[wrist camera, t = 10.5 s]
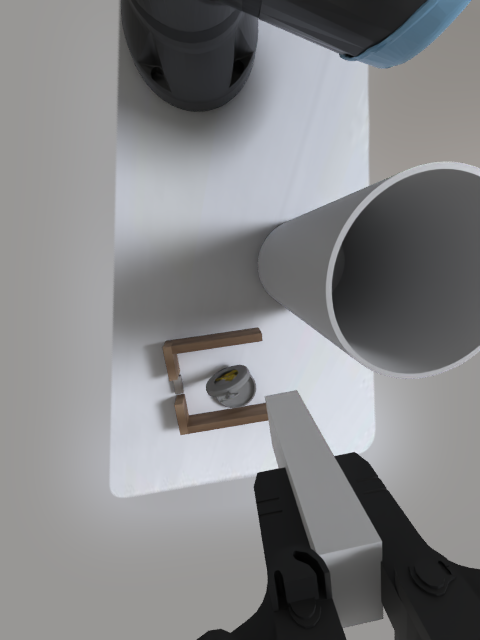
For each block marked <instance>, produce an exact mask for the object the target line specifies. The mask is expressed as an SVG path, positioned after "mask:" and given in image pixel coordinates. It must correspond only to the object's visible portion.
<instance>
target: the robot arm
mask: <svg viewBox="0 0 480 640" xmlns="http://www.w3.org/2000/svg"><path fill="white" fill-rule="evenodd" d="M470 1H471V0H121V14H122V23H123V29H124V34H125V38H126V42H127V45H128V48H129V50H130V53H131V55H132V58H133V60H134V62H135V65H136V67H137V69H138V71H139V73H140V74H141V76H142V78H143V79H144V81H145V82H146V83H147V85H148V86H149V87H150V88H151V89H152V90H153V91H154V92H155V93H156V94H157V95H158V96H159V97H161V98H162V99H163V100H165V101H166V102H168V103H170V104H171V105H173V106H176V107H178V108H181V109H184V110H189V111H207V110H212V109H215V108H217V107H220V106H222V105H224V104H225V103H227V102H228V101H230V100H231V99H232V98H233V97H234V96H235V95H236V94H237V93H238V92H239V91H240V90H241V88H242V87H243V85H244V84H245V82H246V80H247V78H248V76H249V74H250V72H251V69H252V65H253V62H254V57H255V52H256V47H257V40H258V19H260V20H262V21H264V22H267V23H269V24H271V25H274V26H276V27H278V28H281V29H283V30H285V31H288V32H290V33H292V34H295V35H297V36H299V37H302V38H304V39H306V40H309V41H311V42H313V43H316V44H318V45H320V46H323V47H325V48H327V49H330V50H332V51H334V52H336V53H339V55H340V57H341V58H343V59H345V60H348V61H360V62H363V63H366V64H368V65H372V66H374V67H377V68H390V67H392V66H396V65H399V64H402V63H405V62H406V61H408V60H410V59H411V58H413V57H414V56H416V55H417V54H418V53H420V52H421V51H422V50H424V49H425V48H426V47H427V46H428V45H430V44H431V43H432V42H433V41H434V40H435V39H436V38H437V37H438V36H439V35H440V34H441V33H442V32H443V31H444V30H445V29H446V28H447V27H448V26H449V25H450V24H451V23H452V22H453V21H454V20H455V19H456V18H457V16H458V15H459V14H460V13H461V12H462V11H463V10H464V9H465V7H466V6H467V5H468V4H469V3H470ZM265 400H266V407H267V413H268V420H269V426H270V433H271V440H272V446H273V449H274V453H275V456H276V460H277V463H278V467H279V469H274V470H269V471H264V472H259V473H257V477H256V480H255V484H254V491H255V498H256V504H257V510H258V515H259V523H260V529H261V535H262V541H263V548H264V554H265V560H266V566H267V575H268V584H267V591H266V594H265V597H264V600H263V602H262V604H261V606H260V607H259V609H258V610H257V612H256V613H255V614H254V615H253V616H252V617H251V618H250V619H248V620H247V621H246V622H245V623H243V624H242V625H241V626H239V627H238V628H237V629H235V630H234V631H233V632H231V633H229V632H227V631H225V630H222V629H217V630H211V631H208V632H206V633H205V634H204V635H202V636H201V637H200V638H198V639H197V640H346V637H345V634H344V631H343V628H345V627H349V626H354V625H358V624H363V623H367V622H371V621H376V620H380V619H383V607H384V609H385V611H386V613H387V615H388V617H389V619H390V621H391V624H392V626H393V628H394V630H395V640H480V569H474V568H468V567H465V566H461V565H458V564H455V563H453V562H451V561H449V560H447V558H445V557H444V556H442V555H441V554H440V553H438V552H436V551H435V550H433V549H432V548H431V547H429V546H428V545H427V543H426V542H425V541H424V540H423V539H422V538H421V536H420V535H419V534H418V532H417V531H416V529H415V528H414V526H413V525H412V524H411V522H410V521H409V519H408V518H407V516H406V515H405V514H404V512H403V511H402V509H401V508H400V507H399V505H398V504H397V502H396V501H395V500H394V498H393V497H392V495H391V494H390V492H389V491H388V490H387V489H386V487H385V485H384V484H383V483H382V481H381V480H380V479H379V478H378V475H377V474H376V472H375V471H374V470H373V468H372V467H371V465H370V464H369V463H368V462H367V461H366V460H364V459H363V458H362V457H361V456H359V455H358V454H357V453H355V452H353V453H348V454H343V455H338V456H334V455H333V453H332V452H331V450H330V448H329V446H328V445H327V443H326V441H325V439H324V437H323V436H322V434H321V432H320V430H319V429H318V427H317V425H316V423H315V421H314V420H313V418H312V416H311V414H310V413H309V411H308V409H307V407H306V405H305V404H304V402H303V400H302V398H301V397H300V395H299V393H298V391H297V390H295V391H290V392H285V393H280V394H274V395H269V396H265Z"/></svg>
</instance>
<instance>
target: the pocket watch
mask: <svg viewBox="0 0 480 640" xmlns="http://www.w3.org/2000/svg"><path fill="white" fill-rule="evenodd" d="M206 391H207V393H208V394H209V395H210V396H212V397H216V398H217V400H218V401H219V402H220V403H221V404H222V405H224V406H226V407H230V408H239V407H242V406H245V405H246V404H248V403H249V402H250V401H251V400H252V399H253V397H254V395H255V392H256V384H255V381H254V379H253V377H252V376H251V375H250V372H249V370H248V369H247V367H245V366H243V365H236V366H231V367H228V368H225V369H223V370H221V371H219V372H218V373H216V374H215V375H214V376H212V377H211V378H210V379H209V381H208V382H207V384H206Z"/></svg>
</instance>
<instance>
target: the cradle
mask: <svg viewBox="0 0 480 640" xmlns="http://www.w3.org/2000/svg"><path fill="white" fill-rule="evenodd" d="M259 341H262V333H261V331H260V330H259V328H252V329H245V330H238V331H231V332H224V333H218V334H211V335H204V336H197V337H190V338H183V339H176V340H170V341H166V342H165V344H164V346H163V353H164V358H165V362H166V367H167V372H168V377H169V381H173V384H174V389H175V393H176V394H181V393H183V392H184V389H183V383H182V378H181V375H179V373H180V368H179V363H178V358H177V354H178V353H185V352H192V351H198V350H205V349H212V348H219V347H225V346H232V345H239V344H245V343H252V342H259ZM174 406H175V411H176V415H177V420H178V425H179V430H180V435H184V434H190V433H196V432H202V431H208V430H214V429H220V428H226V427H232V426H237V425H243V424H249V423H255V422H261V421H267V420H268V413H267V407H266V403H263V404H257V405H251V406H245V407H239V408H232V409H226V410H220V411H214V412H208V413H202V414H196V415H190V416H189V414H188V409H187V404H186V399H185V394H181V395H177V397H176V401H175V405H174Z"/></svg>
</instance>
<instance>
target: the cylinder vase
mask: <svg viewBox="0 0 480 640" xmlns="http://www.w3.org/2000/svg"><path fill="white" fill-rule="evenodd" d="M258 274H259V278H260V281H261V283H262V285H263V287H264V289H265V290H266V292H267V293H268V294H269V295H270V296H271V297H272V298H273V299H275V300H276V301H277V302H279V303H280V304H281V305H283V306H284V307H285V308H287V309H288V310H289V311H291V312H292V313H293V314H295V315H296V316H297V317H299V318H300V319H301V320H303V321H304V322H305V323H307V324H308V325H309V326H311V327H312V328H313V329H315V330H316V331H317V332H319V333H320V334H321V335H323V336H324V337H325V338H327V339H328V340H330V341H331V342H332V343H334V344H335V345H336V346H338V347H339V348H340V349H342V350H343V351H344V352H346V353H347V354H348V355H350V356H351V357H352V358H354V359H355V360H356V361H358V362H359V363H360V364H362V365H363V366H365V367H366V368H368V369H370V370H372V371H374V372H376V373H379V374H382V375H385V376H389V377H394V378H402V379H412V378H413V379H415V378H424V377H429V376H433V375H437V374H440V373H443V372H445V371H448V370H450V369H453V368H455V367H457V366H458V365H460V364H462V363H464V362H465V361H467V360H469V359H470V358H471V357H473V356H474V355H476V354H477V353H478V352H479V351H480V168H477V167H474V166H472V165H468V164H464V163H457V162H434V163H428V164H423V165H419V166H416V167H413V168H410V169H408V170H405V171H403V172H401V173H398V174H396V175H394V176H391V177H389V178H387V179H384V180H382V181H380V182H377V183H375V184H373V185H370V186H368V187H366V188H364V189H361V190H359V191H357V192H354V193H352V194H350V195H347V196H345V197H343V198H340V199H338V200H336V201H333V202H331V203H329V204H327V205H324V206H322V207H320V208H317V209H315V210H313V211H310V212H308V213H306V214H303V215H301V216H299V217H296V218H294V219H292V220H290V221H287V222H285V223H283V224H281V225H279V226H278V227H277V228H275V229H274V230H273V231H272V232H271V233H270V234H269V235H268V237H267V238H266V239H265V241H264V243H263V245H262V247H261V249H260V253H259V257H258Z"/></svg>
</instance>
